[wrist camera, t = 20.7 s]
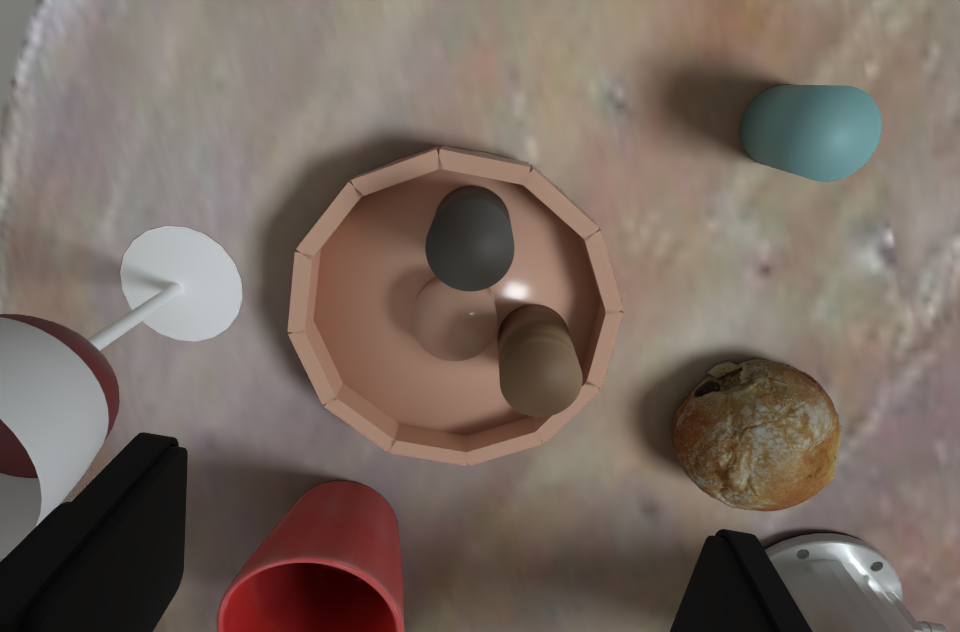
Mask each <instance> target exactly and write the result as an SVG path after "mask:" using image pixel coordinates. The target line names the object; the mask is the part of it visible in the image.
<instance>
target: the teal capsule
mask: <svg viewBox="0 0 960 632" xmlns="http://www.w3.org/2000/svg"><path fill="white" fill-rule="evenodd" d="M881 129H882V120H881V114H880V111H879V108H878V106H877V104H876V102H875V101H874V100H873V98H872V97H871V96H870V95H868V94H867V93H866V92H864V91H863V90H860V89H858V88H855V87H851V86H827V85H779V86H775V87H772V88H769V89H767V90H765V91H764V92H762V93H761V94H759V95H758V96H757V97H756V98H755V99H754V100H753V101H752V102H751V103H750V105H749V106H748V108H747V109H746V111H745V113H744V115H743V118H742V122H741V127H740V137H741V142H742V145H743V147H744V149H745V151H746V153H747V154H748V155H749V156H750V157H751V158H752V159H753V160H755V161H756V162H758V163H761V164H763V165H767V166H770V167H773V168H776V169H780V170H783V171H786V172H789V173H793V174H796V175H799V176H802V177H805V178H809V179H812V180H816V181H822V182H830V181H836V180H839V179H843V178H845V177H847V176H849V175H851V174H853V173H854V172H856V171H857V170H859V169H860V168H861V167H862V166H863V165H864V164H865V163H866V162H867V161H868V160H869V159H870V157H871V156H872V154H873V153H874V151H875V149H876V147H877V145H878V142H879V139H880V136H881Z"/></svg>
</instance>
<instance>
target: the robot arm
mask: <svg viewBox="0 0 960 632" xmlns="http://www.w3.org/2000/svg"><path fill="white" fill-rule="evenodd" d="M187 457H188V456H187V450H186V449H185V448H181V447H179V444H178V441H177V439H176V438H174V437H168V436H162V435H156V434H150V433H144V432H143V433H139V434H138V435H137V436H136V437H135V438H134V439H133V440H132V441H131V442H130V443H129V444H128V445H127V446H126V447H125V448H124V449H123V450H122V451H121V452H120V453H119V454H118V455H117V456H116V457H115V458H114V459H113V460H112V461H111V462H110V463H109V464H108V465H107V466H106V467H105V468H104V469H103V470H102V471H101V472H100V473H99V474H98V475H97V476H96V477H95V478H94V479H93V480H92V481H91V482H90V483H89V484H88V485H87V487H86V488H85V489H84V490H83V491H82V492H81V493H80V494H79V495H78V496H77V497H76V498H75V499H74V500H73V501H72V502H65V503H62V504H60V505H59V506H57V507H56V508H55V509H54V510H52V511H51V512H50V513H49V514H48V515H47V516H46V517H45V518H44V519H43V520H42V521H41V522H40V523H39V524H38V525H37V526H36V527H35V528H34V529H33V530H32V531H31V532H30V533H29V534H28V535H27V536H26V537H25V538H24V539H23V540H22V541H21V542H20V543H19V544H18V545H17V546H16V547H15V548H14V549H13V550H12V551H11V552H10V553H9V554H8V555H7V556H6V557H5V558H4V559H3V560H2V561H1V562H0V632H153V630H154V628H155V627H156V625H157V623H158V622H159V620H160V618H161V617H162V615H163V613H164V612H165V610H166V608H167V607H168V605H169V603H170V602H171V600H172V598H173V597H174V595H175V594H176V592H177V590H178V588H179V585H180V582H181V579H182V575H183V569H184V544H185V515H186V486H187ZM902 599H903V592H902V586H901V581H900V579H899V577H898V575H897V572H896V571H895V569H894V568H893V567H892V565H891V564H890V563H889V562H888V560H887V559H886V558H885V557H884V556H883V555H882V554H881V553H880V552H879V551H878V550H877V549H876V548H874V547H872V546H871V545H869V544H868V543H866V542H864V541H862V540H859V539H856V538H853V537H851V536H846V535H840V534H834V533H816V534H809V535H802V536H798V537H794V538H791V539H787V540H784V541H781V542H779V543H777V544H775V545H773V546H771V547H769V548H767V549H765V550H764V549H763V547H762V545H761V543H760V542H759V540H758V539H757V538H756V536H755V535H753V534H749V533H743V532H737V531H731V530H725V529H722V530H719V531H718V532H717V533H716V535H715V536H709V537H708V538H707V539H706V541H705V543H704V545H703V548H702V551H701V553H700V556H699V558H698V561H697V563H696V566H695V569H694V571H693V574H692V576H691V579H690V581H689V584H688V586H687V589H686V592H685V594H684V597H683V599H682V602H681V604H680V607H679V610H678V612H677V615H676V617H675V620H674V622H673V625H672V627H671V630H670V632H948V631H947V629H946V627H945V626H944V625H942V624H938V623H932V622H926V621H921V622H920V621H916V620H915V619H914V617H913V616H912V615H911V614H910V612H909V611H908V610H907V609H906V607H905V606H904V605H903V604H902Z"/></svg>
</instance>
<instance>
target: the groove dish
mask: <svg viewBox="0 0 960 632" xmlns="http://www.w3.org/2000/svg"><path fill="white" fill-rule="evenodd" d="M468 185H476V186H482V187H485V188H487V189H490V190H491V191H493V192H494V193H496V194H497V195H498V196H499V197H500V198H501V199H502V200H503V202H504V203H505V205H506V207H507V209H508V212H509V216H510V222H511V227H512V233H513V238H514V246H515V250H514V258H513V261H512V264H511V266H510V268H509V270H508V272H507V273H506V274H505V276H504V277H503V278H502V279H501V280H500V281H499V282H497V283H496V284H495V285H493V286H491V287H489V288H487V289H484V290H480V291H461V290H457V289H454V288H451V287H449V286H448V285H446V284H444V283H443V282H442V281H441V280H439V279H438V278H437V277H436V275H435V274H434V273H433V271H432V270H431V268H430V266H429V264H428V261H427V258H426V252H425V244H426V238H427V234H428V232H429V229H430V226H431V224H432V221H433V218H434V216H435V213H436V210H437V208H438V206H439V204H440V202H441V201H442V199H443V198H444V197H445V196H446V195H447V194H449V193H450V192H451V191H453V190H455V189H457V188H459V187H463V186H468ZM296 249H297V250H296V251H295V255H294V265H293V276H292V287H291V298H290V309H289V320H288V331H287V332H290V333H289V334H288V336H289V338H290V340H291V342H292V344H293V346H294V348H295V350H296V352H297V354H298V356H299V358H300V360H301V362H302V364H303V366H304V368H305V370H306V373H307V375H308V377H309V379H310V381H311V383H312V385H313V387H314V389H315V391H316V393H317V395H318V397H319V399H320V401H321V403H322V405H323V404H325V406H324V407H325V408H326V409H328V410H329V411H331V412H332V413H333V414H335V415H336V416H337V417H339V418H340V419H342V420H343V421H344V422H346V423H347V424H349V425H350V426H351V427H353V428H354V429H356V430H357V431H358V432H360V433H361V434H362V435H364V436H365V437H367V438H368V439H369V440H371V441H372V442H374V443H375V444H376V445H378V446H379V447H381V448H382V449H383V450H385V451H386V452H388V451H389V450H390V453H391V454H397V455H403V456H409V457H415V458H421V459H427V460H432V461H438V462H444V463H450V464H456V465H462V466H466V464H467V462H468V465H469V466H471V465H474V464H478V463H481V462H484V461H488V460H491V459H495V458H498V457H502V456H505V455H508V454H512V453H515V452H519V451H522V450H526V449H529V448H532V447H536V446H539V445H543V443H542V441H543V442H545V443H546V442H547V441H548V440H549V439H550V438H551V437H552V436H553V435H554V434H555V433H556V432H557V431H558V430H559V429H560V428H562V427H563V426H564V425H565V424H566V423H567V422H568V421H569V420H570V419H571V418H572V417H573V416H574V415H575V414H576V413H577V412H578V411H579V410H580V409H581V408H582V407H583V406H585V405H586V404H587V403H588V402H589V401H590V400H591V399H592V398H593V397H594V396H595V395H596V394H597V393H598V392H599V391H600V387H601V388H602V386H603V383H604V379H605V376H606V372H607V369H608V365H609V362H610V359H611V355H612V352H613V348H614V345H615V341H616V338H617V334H618V331H619V327H620V324H621V321H622V317H623V314H624V313H623V311H622V310H624V309H623V306H622V302H621V299H620V295H619V292H618V288H617V285H616V281H615V278H614V274H613V271H612V267H611V264H610V260H609V257H608V253H607V250H606V246H605V242H604V239H603V235H602V232H601V230H600V229H599V227H598V225H597V224H596V223H595V222H594V220H593V219H591V218H590V217H589V216H588V215H587V214H586V213H585V212H584V211H583V210H582V209H580V208H579V207H578V206H577V205H576V204H575V203H574V202H573V201H572V200H570V199H569V198H568V197H567V196H566V194H565V193H564V192H563V191H562V190H561V189H559V188H558V187H557V186H556V185H554V184H553V183H552V182H551V181H550V180H548V179H547V178H546V177H545V176H544V175H543V174H542V173H541V172H540V171H538V170H537V169H536V168H535V167H534V166H533V165H532V164H531V165H529V163H528V162H523V161H518V160H513V159H508V158H506V157H502V156H498V155H495V154H491V153H487V152H481V151H473V150H466V149H458V148H453V147H448V146H443V145H442V147H441V148H440V147H439V146H437V147H434V148H431V149H428V150H426V151H423V152H420V153H417V154H414V155H410V156H407V157H403V158H400V159H398V160H396V161H393V162H391V163H389V164H386V165H384V166H381V167H378V168H376V169H373V170H370V171H367V172H365V173H362V174H359V175H357V176H356V177H354V178H353V179H352V180H350V181H349V182H348V183H347V184H346V186H345V187H344V188H343V189H342V191H341V192H340V193H339V195H338V196H337V197H336V198H335V200H334V201H333V202H332V204H331V205H330V206H329V207H328V209H327V210H326V211H325V212H324V214H323V215H322V216H321V218H320V219H319V220H318V221H317V223H316V224H315V225H314V227H313V228H312V229H311V230H310V232H309V233H308V234H307V235H306V237H305V238H304V239H303V241H302V242H301V243H300V244H299V246H298V247H297V248H296ZM530 304H539V305H544V306H547V307H549V308H551V309H553V310H555V311H556V312H557V313H558V314H559V315H560V316H561V317H562V318H563V319H564V321H565V323H566V325H567V328H568V331H569V334H570V337H571V340H572V343H573V346H574V349H575V353H576V356H577V359H578V362H579V365H580V368H581V371H582V387H581V390H580V393H579V395H578V396H577V398H576V400H575V401H574V402H573V403H572V404H571V405H570V406H569V407H568V408H567V409H565V410H564V411H562V412H560V413H558V414H555V415H552V416H547V417H532V416H528V415H524V414H522V413H520V412H518V411H516V410H515V409H514V408H512V407H511V406H510V405H509V404H508V403H507V401H506V400H505V398H504V397H503V395H502V392H501V388H500V379H499V357H498V331H499V328H500V325H501V323H502V321H503V320H504V318H505V317H506V316H507V315H508V314H509V313H510V312H512V311H513V310H515V309H517V308H519V307H521V306H524V305H530Z"/></svg>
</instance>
